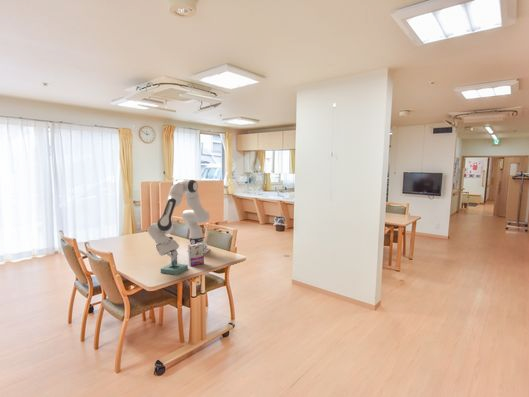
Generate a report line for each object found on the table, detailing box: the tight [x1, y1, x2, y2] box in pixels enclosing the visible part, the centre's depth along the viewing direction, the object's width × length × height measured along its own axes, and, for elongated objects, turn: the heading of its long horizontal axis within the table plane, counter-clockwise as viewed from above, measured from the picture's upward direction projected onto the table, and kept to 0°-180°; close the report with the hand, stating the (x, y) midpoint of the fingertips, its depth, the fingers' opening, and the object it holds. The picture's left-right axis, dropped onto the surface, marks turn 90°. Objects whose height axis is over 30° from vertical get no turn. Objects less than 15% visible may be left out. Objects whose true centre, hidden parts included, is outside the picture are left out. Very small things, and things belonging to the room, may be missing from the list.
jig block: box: [160, 263, 189, 276], centre depth 223 cm, size 14×14×3 cm
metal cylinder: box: [170, 250, 178, 265], centre depth 222 cm, size 4×4×10 cm
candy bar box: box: [187, 243, 205, 267], centre depth 237 cm, size 11×5×16 cm, turn 126°
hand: (174, 256), depth 222 cm, fingers closed on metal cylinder, 4 cm apart
